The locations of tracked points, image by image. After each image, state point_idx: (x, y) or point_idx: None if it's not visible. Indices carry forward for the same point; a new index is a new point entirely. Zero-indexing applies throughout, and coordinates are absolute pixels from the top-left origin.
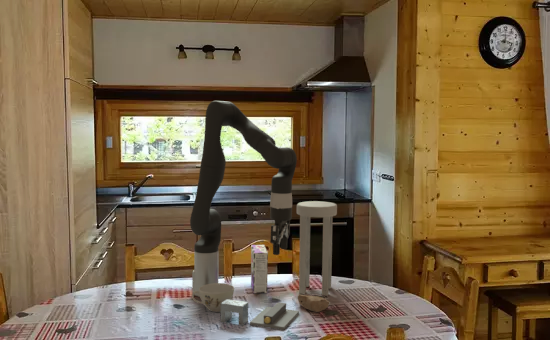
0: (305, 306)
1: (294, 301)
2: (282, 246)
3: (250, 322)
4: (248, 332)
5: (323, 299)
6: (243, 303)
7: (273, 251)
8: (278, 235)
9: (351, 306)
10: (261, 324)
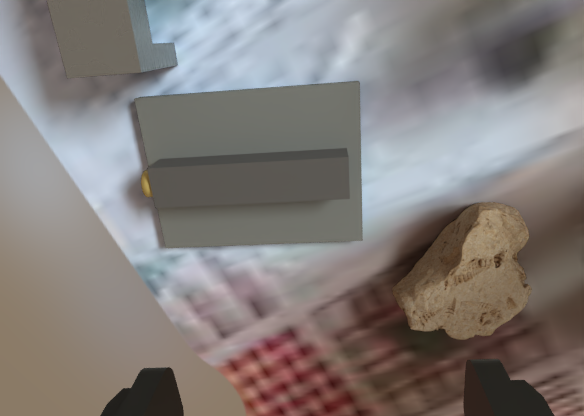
0: (436, 244)
1: (524, 159)
2: (475, 399)
3: (135, 102)
4: (71, 129)
5: (453, 337)
6: (106, 58)
7: (105, 409)
8: None
9: None
10: (147, 154)
